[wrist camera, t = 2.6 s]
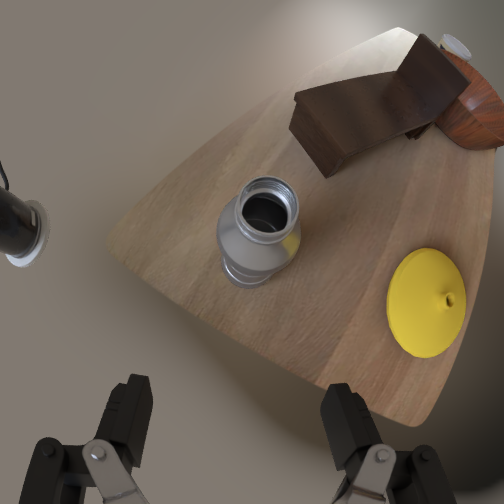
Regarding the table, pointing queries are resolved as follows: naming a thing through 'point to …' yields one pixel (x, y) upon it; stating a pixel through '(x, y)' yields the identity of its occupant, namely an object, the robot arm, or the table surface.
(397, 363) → the table surface
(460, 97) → the bowl
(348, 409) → the robot arm
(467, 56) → the coffee cup
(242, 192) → the plastic bottle
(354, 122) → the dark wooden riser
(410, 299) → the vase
